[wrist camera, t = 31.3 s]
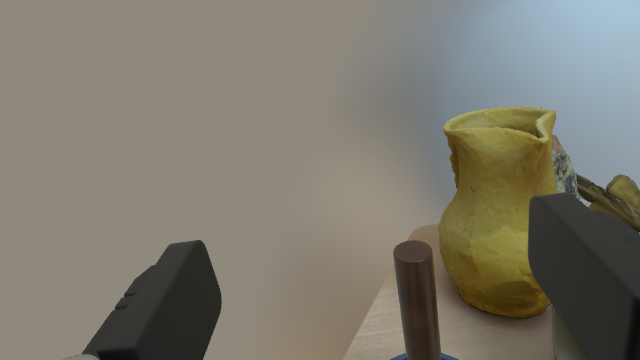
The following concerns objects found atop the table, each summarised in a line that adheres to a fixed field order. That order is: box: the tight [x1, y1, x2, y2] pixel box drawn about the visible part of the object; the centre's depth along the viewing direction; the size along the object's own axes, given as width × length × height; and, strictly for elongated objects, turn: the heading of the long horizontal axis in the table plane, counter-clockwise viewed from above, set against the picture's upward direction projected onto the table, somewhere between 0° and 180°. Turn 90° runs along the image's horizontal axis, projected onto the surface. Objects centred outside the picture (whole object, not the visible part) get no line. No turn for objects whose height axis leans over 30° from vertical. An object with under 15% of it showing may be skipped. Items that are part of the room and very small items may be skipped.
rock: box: [552, 135, 580, 200], centre depth 67 cm, size 14×17×10 cm
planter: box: [552, 306, 590, 360], centre depth 40 cm, size 12×12×11 cm
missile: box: [575, 173, 640, 232], centre depth 68 cm, size 7×25×7 cm, turn 9°
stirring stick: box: [393, 241, 442, 360], centre depth 37 cm, size 3×3×22 cm
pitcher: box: [438, 107, 558, 318], centre depth 55 cm, size 17×19×25 cm
